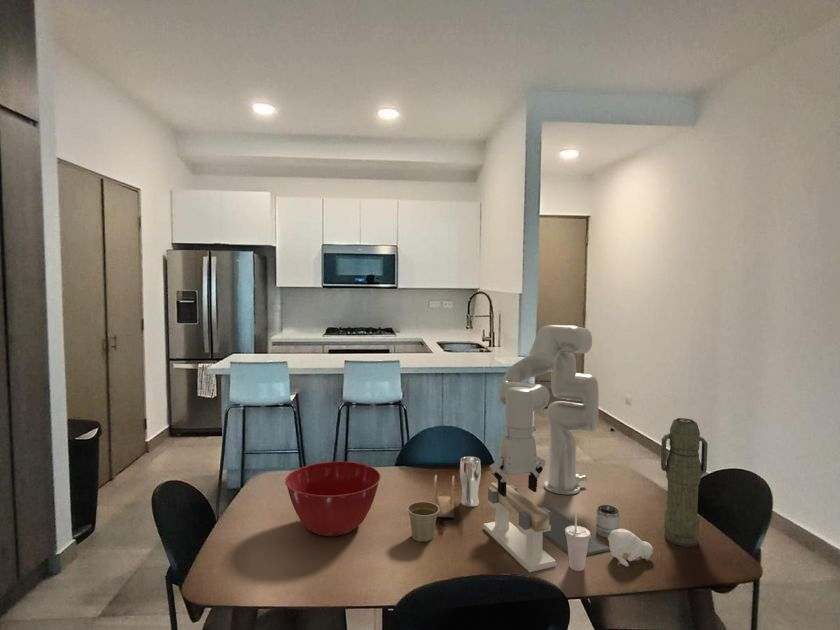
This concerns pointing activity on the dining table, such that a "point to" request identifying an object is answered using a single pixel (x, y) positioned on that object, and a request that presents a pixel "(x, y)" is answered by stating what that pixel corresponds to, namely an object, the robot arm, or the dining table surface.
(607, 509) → the camera lens
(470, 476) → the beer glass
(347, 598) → the dining table surface
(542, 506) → the mat
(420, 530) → the flower pot
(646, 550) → the white animal figurine
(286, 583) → the dining table surface
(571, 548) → the smoothie
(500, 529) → the hook stand
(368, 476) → the mixing bowl
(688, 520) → the thermos
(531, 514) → the rail
